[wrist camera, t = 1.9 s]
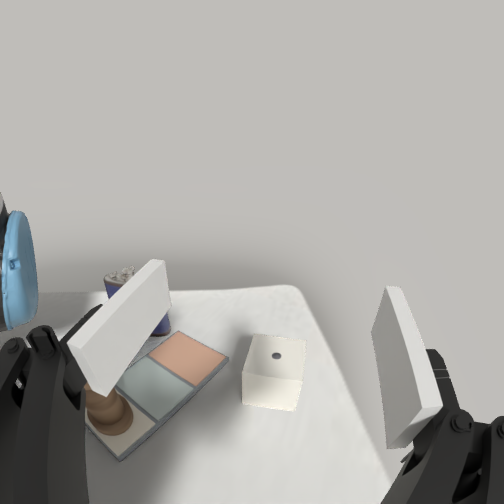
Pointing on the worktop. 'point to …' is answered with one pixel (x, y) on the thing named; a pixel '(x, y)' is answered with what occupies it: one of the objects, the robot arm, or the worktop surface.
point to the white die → (273, 372)
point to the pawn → (108, 412)
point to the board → (160, 388)
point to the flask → (118, 280)
